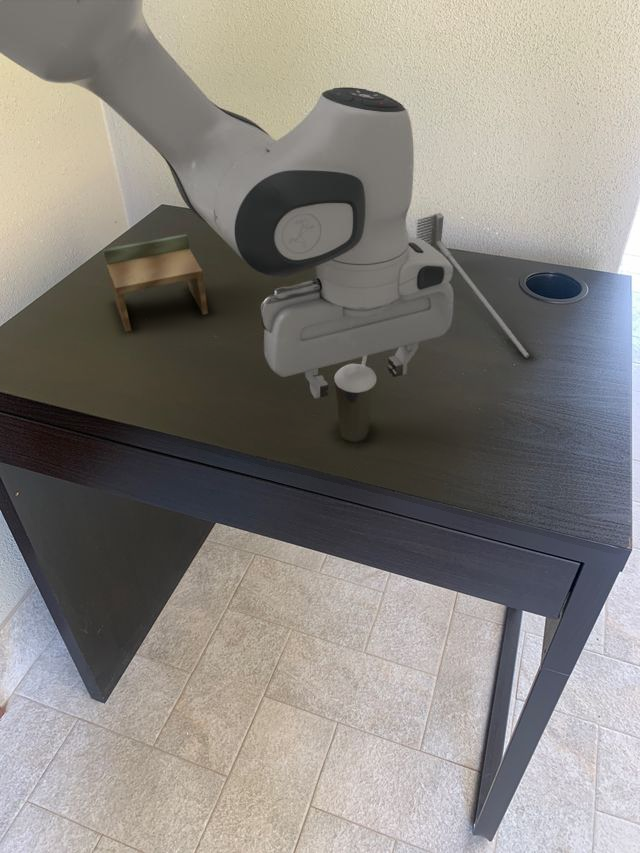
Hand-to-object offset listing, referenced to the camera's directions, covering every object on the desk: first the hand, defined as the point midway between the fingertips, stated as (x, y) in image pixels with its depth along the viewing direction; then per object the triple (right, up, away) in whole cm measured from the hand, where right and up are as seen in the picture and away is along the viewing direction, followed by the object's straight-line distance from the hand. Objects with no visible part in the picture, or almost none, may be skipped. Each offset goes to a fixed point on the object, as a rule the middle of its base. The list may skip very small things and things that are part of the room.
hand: (358, 383), depth 75 cm
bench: (-28, +13, +26) cm, 40 cm away
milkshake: (0, -5, +5) cm, 7 cm away
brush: (+18, +13, +26) cm, 34 cm away
